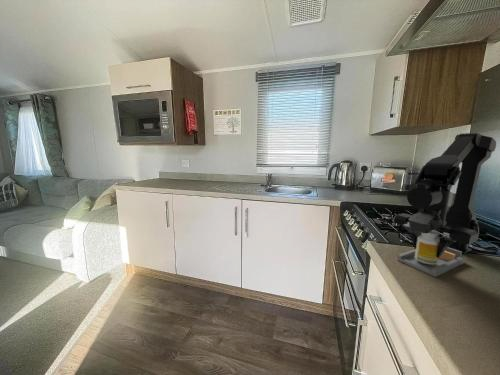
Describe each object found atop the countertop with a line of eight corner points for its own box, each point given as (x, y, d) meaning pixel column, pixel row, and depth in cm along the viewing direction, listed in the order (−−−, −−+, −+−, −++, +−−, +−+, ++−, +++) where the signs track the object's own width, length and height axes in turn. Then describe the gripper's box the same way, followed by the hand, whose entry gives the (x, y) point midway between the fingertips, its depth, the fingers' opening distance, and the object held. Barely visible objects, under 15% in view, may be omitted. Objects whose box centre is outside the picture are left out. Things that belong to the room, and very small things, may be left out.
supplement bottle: (441, 266, 61) (446, 235, 59) (420, 264, 62) (425, 233, 60) (429, 257, 66) (434, 228, 64) (410, 255, 67) (414, 227, 66)
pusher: (426, 251, 71) (427, 244, 71) (454, 261, 65) (455, 254, 64) (424, 252, 71) (425, 245, 70) (452, 262, 64) (453, 254, 64)
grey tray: (426, 249, 74) (428, 240, 73) (464, 262, 65) (466, 253, 65) (397, 260, 66) (398, 250, 66) (435, 276, 57) (437, 265, 57)
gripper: (385, 200, 66) (380, 245, 68) (465, 216, 49) (453, 275, 52) (405, 197, 71) (399, 239, 73) (484, 210, 54) (472, 265, 57)
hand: (426, 252), depth 64 cm, fingers closed on supplement bottle, 5 cm apart
